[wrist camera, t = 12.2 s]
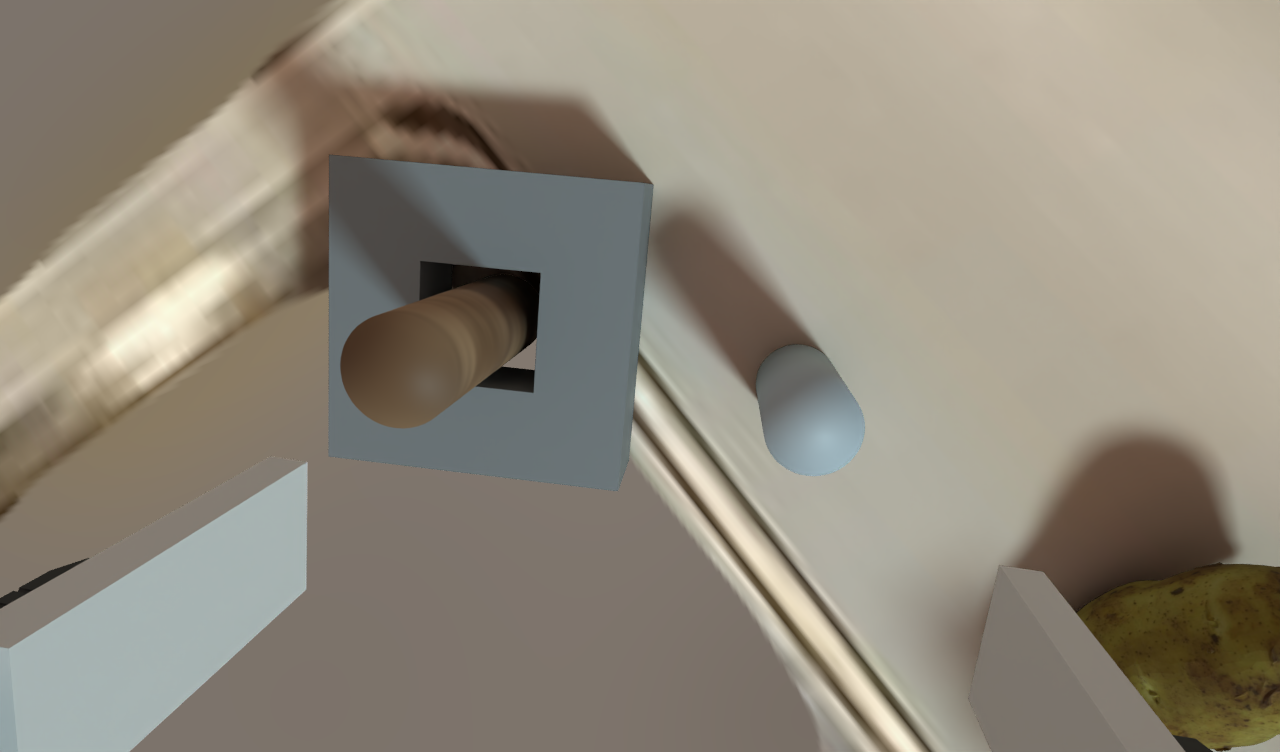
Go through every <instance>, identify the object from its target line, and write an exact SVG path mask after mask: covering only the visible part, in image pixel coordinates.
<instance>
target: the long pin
mask: <svg viewBox="0 0 1280 752" xmlns="http://www.w3.org/2000/svg"><path fill="white" fill-rule="evenodd" d="M538 312H539V294H538V293H537V291H536V290H535V289H534V288H533V286H532V285H531V284H529V283H528V282H527V281H525V280H524V279H522V278H520V277H518V276H515V275H510V274H497V275H493V276H490V277H487V278H484V279H481V280H478V281H475V282H472V283H469V284H466V285H463V286H460V287H458V288H455V289H452V290H449V291H446V292H443V293H440V294H437V295H434V296H431V297H428V298H425V299H423V300H420V301H417V302H414V303H411V304H408V305H405V306H402V307H399V308H396V309H393V310H391V311H388V312H385V313H382V314H379V315H376V316H373V317H371V318H369V319H367V320H365V321H363V322H362V323H361V324H359V325H358V326H357V327H356V328H355V329H354V330H353V331H352V332H351V334H350V335H349V337H348V338H347V340H346V342H345V344H344V347H343V350H342V354H341V360H340V371H341V378H342V382H343V385H344V388H345V390H346V392H347V395H348V396H349V398H350V399H351V401H352V402H353V404H354V405H355V406H356V407H357V408H358V409H359V410H360V411H361V412H362V413H363V414H364V415H365V416H367V417H368V418H370V419H371V420H373V421H375V422H377V423H379V424H381V425H384V426H387V427H392V428H402V429H404V428H413V427H417V426H420V425H423V424H425V423H427V422H429V421H431V420H432V419H434V418H435V417H436V416H438V415H439V414H440V413H441V412H443V411H444V410H445V409H447V408H448V407H449V406H451V405H452V404H453V403H455V402H456V401H457V400H458V399H460V398H461V397H462V396H464V395H465V394H466V393H468V392H469V391H470V390H471V389H473V388H474V387H475V386H477V385H478V384H479V383H481V382H482V381H483V380H484V379H486V378H487V377H488V376H490V375H491V374H492V373H494V372H495V371H496V370H498V369H499V368H500V367H501V366H503V365H504V364H505V363H507V362H508V361H509V360H510V359H512V358H513V357H514V356H516V355H517V354H518V353H520V352H521V351H522V350H524V349H525V348H526V347H527V346H529V345H530V344H531V343H532V342H533V341H534V340H535V339H536V338H537V328H538Z"/></svg>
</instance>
